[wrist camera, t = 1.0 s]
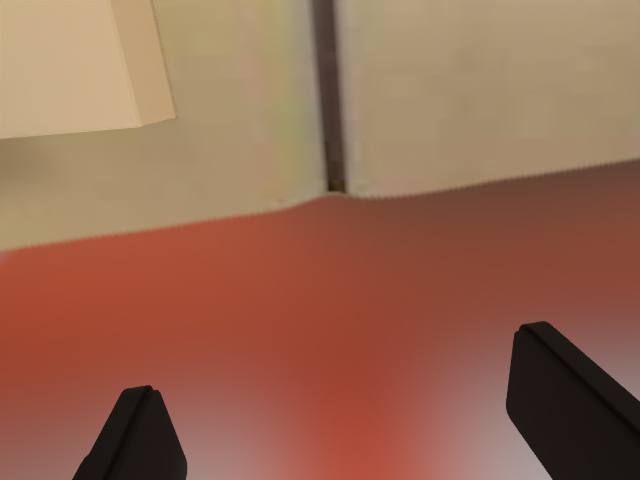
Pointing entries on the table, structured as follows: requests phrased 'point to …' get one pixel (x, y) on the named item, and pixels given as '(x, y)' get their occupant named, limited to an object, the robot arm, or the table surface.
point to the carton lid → (62, 69)
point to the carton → (144, 59)
